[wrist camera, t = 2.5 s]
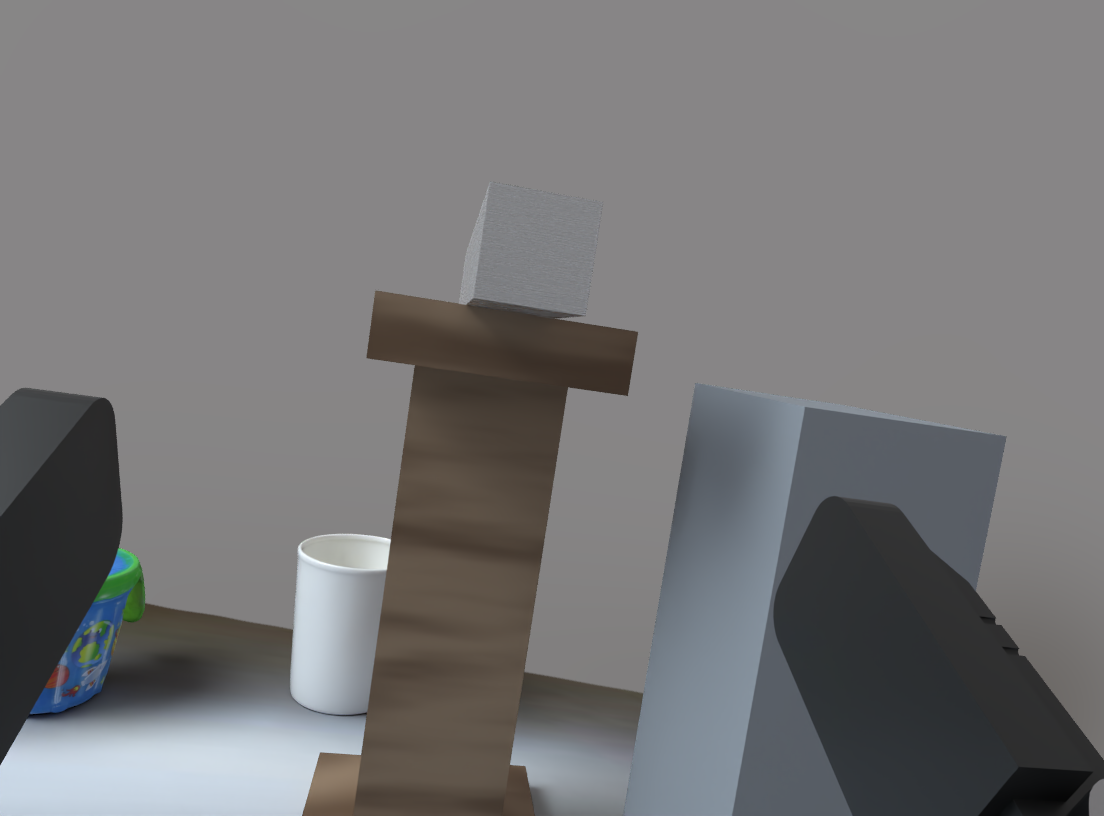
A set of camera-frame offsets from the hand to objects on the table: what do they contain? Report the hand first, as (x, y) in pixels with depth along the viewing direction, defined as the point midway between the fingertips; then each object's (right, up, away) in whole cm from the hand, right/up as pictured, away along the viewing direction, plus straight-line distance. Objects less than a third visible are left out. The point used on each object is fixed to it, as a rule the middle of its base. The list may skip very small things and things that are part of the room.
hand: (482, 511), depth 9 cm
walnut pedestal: (-7, -25, +37) cm, 45 cm away
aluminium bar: (-2, +6, +31) cm, 32 cm away
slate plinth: (+8, -28, +27) cm, 40 cm away
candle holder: (-17, -22, +55) cm, 62 cm away
